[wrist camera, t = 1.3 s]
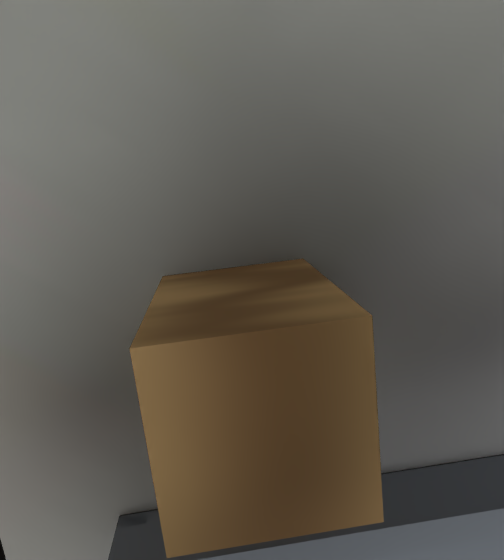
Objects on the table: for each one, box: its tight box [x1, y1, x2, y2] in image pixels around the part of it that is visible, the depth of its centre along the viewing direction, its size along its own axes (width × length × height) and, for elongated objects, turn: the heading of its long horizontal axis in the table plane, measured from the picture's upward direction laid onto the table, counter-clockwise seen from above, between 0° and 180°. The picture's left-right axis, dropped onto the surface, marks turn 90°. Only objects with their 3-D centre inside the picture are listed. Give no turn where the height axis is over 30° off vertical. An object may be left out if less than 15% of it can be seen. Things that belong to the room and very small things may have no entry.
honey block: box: [130, 259, 384, 558], centre depth 12 cm, size 4×4×6 cm
